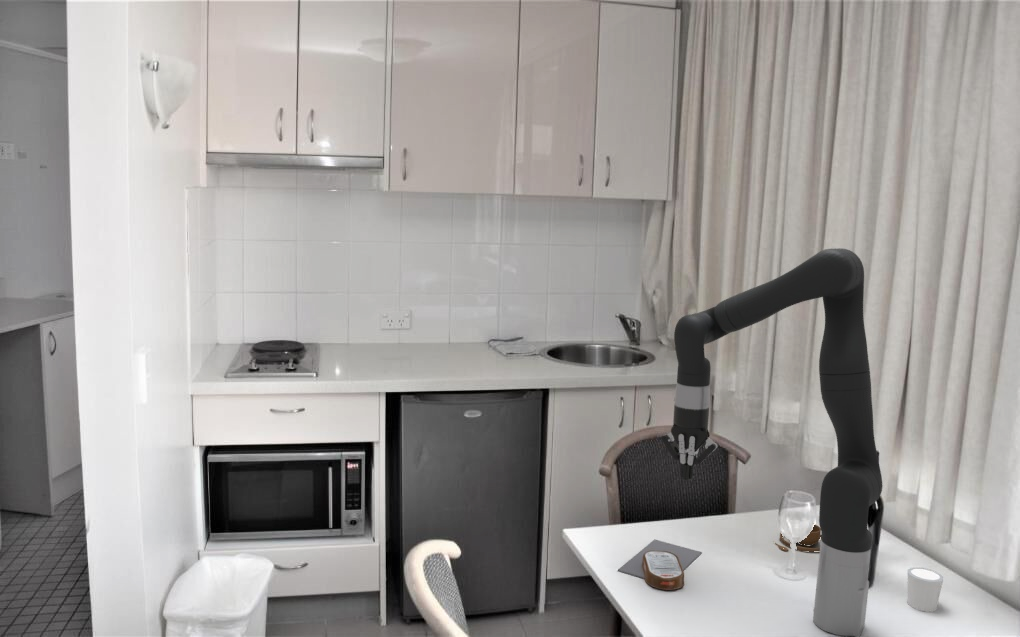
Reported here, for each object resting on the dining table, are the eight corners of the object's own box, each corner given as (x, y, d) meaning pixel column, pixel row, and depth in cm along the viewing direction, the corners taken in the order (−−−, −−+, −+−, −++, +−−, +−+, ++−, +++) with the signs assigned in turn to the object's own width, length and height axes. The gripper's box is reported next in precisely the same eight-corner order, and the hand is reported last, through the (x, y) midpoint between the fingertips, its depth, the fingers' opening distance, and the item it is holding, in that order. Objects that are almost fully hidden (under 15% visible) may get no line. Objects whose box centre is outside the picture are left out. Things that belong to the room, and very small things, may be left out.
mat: (701, 553, 198) (701, 552, 198) (667, 586, 180) (667, 584, 180) (654, 540, 204) (654, 539, 204) (617, 570, 186) (617, 569, 186)
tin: (675, 560, 192) (639, 561, 193) (675, 547, 192) (639, 548, 192) (687, 591, 177) (647, 591, 178) (687, 577, 177) (647, 577, 177)
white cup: (946, 608, 175) (950, 577, 174) (926, 615, 171) (930, 583, 170) (917, 594, 181) (920, 564, 180) (896, 601, 177) (900, 570, 176)
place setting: (819, 532, 214) (821, 511, 214) (874, 566, 195) (876, 542, 195) (760, 538, 209) (762, 516, 208) (810, 573, 190) (813, 549, 190)
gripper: (726, 405, 182) (721, 481, 184) (669, 396, 189) (665, 469, 191) (715, 411, 176) (710, 490, 178) (657, 402, 182) (652, 478, 185)
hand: (687, 479), depth 185 cm, fingers closed
